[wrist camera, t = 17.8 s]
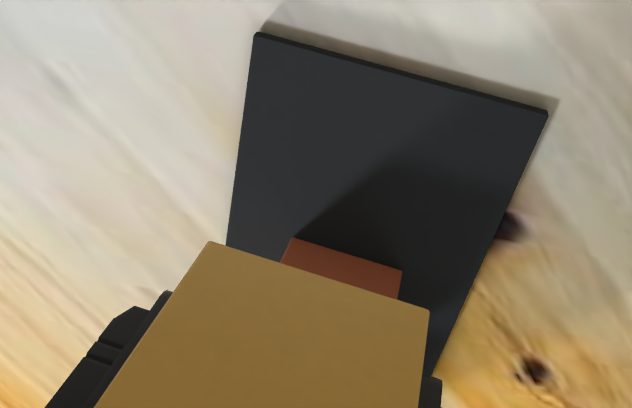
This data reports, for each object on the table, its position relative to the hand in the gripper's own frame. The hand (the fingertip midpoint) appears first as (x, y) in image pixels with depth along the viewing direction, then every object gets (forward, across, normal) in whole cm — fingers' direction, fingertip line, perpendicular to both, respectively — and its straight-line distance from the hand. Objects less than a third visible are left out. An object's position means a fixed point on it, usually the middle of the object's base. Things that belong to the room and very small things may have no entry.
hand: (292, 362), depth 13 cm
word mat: (+11, 0, +7) cm, 13 cm away
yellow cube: (0, 0, 0) cm, 0 cm away
